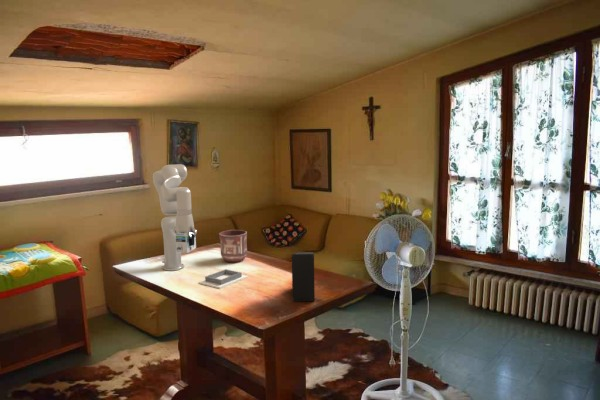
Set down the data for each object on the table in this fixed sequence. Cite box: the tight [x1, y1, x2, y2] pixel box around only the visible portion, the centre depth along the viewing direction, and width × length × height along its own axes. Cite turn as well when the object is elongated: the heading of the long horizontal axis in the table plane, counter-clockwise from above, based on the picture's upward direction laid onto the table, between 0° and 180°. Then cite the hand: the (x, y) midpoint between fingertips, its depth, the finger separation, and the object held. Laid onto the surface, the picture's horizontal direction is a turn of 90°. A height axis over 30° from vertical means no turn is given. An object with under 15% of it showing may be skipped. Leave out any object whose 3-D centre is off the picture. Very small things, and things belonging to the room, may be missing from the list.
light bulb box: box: [175, 231, 197, 254], centre depth 241 cm, size 11×7×11 cm, turn 167°
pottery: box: [218, 229, 248, 264], centre depth 287 cm, size 18×18×18 cm
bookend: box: [291, 251, 316, 302], centre depth 225 cm, size 23×11×24 cm, turn 0°
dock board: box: [198, 269, 249, 289], centre depth 248 cm, size 16×22×3 cm
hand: (186, 244), depth 241 cm, fingers closed on light bulb box, 8 cm apart
